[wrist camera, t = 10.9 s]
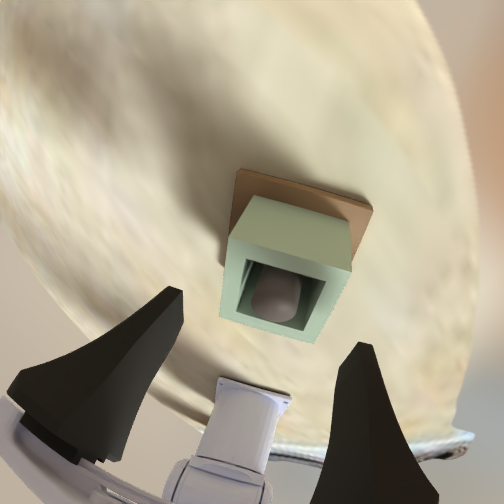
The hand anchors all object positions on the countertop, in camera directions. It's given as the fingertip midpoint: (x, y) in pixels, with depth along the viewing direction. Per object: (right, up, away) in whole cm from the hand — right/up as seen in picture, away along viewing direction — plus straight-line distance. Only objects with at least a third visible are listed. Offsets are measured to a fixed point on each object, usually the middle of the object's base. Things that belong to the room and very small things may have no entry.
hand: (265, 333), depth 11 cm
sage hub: (+2, +3, +5) cm, 6 cm away
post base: (+2, +4, +5) cm, 7 cm away
